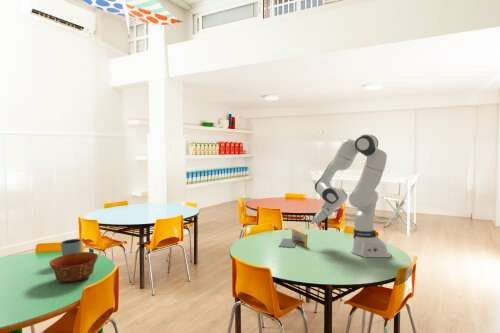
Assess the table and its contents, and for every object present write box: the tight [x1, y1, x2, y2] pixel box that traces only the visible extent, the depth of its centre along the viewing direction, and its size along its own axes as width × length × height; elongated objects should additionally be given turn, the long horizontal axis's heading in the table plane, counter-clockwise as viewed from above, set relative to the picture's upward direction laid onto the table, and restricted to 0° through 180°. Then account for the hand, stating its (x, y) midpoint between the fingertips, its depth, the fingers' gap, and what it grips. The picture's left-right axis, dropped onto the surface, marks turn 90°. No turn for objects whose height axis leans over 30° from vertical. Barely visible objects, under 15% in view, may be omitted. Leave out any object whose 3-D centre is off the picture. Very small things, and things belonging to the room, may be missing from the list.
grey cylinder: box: [60, 238, 82, 256], centre depth 183 cm, size 10×10×12 cm
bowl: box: [48, 251, 99, 283], centre depth 159 cm, size 21×21×10 cm
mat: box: [278, 238, 297, 249], centre depth 221 cm, size 10×20×1 cm, turn 166°
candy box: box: [291, 228, 308, 248], centre depth 219 cm, size 16×2×8 cm, turn 25°
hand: (311, 223), depth 216 cm, fingers closed
